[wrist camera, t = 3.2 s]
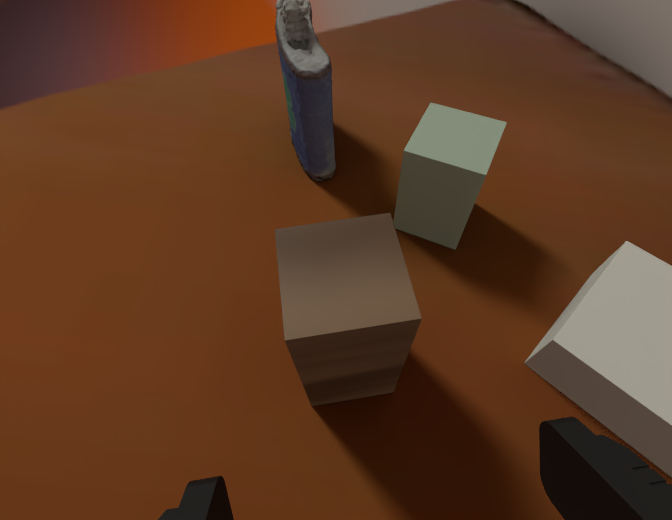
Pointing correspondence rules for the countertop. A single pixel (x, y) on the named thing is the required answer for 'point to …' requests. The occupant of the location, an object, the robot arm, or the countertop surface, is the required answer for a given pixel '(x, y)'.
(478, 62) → the countertop surface
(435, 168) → the sage block
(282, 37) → the flask
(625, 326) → the base block
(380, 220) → the walnut pillar
